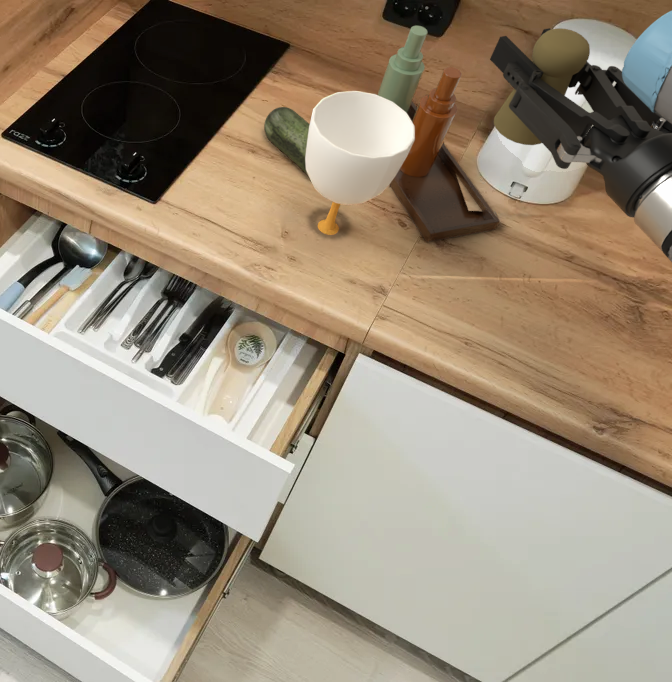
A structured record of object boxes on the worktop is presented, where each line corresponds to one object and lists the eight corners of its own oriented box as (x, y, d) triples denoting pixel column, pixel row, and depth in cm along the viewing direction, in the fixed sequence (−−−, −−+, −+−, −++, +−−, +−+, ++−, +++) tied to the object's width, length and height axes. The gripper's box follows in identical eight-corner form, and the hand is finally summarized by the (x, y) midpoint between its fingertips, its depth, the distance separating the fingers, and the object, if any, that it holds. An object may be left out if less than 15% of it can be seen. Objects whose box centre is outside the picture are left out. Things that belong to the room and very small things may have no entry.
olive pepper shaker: (559, 129, 88) (611, 39, 79) (531, 153, 85) (582, 63, 77) (511, 102, 90) (556, 12, 82) (483, 124, 88) (526, 34, 79)
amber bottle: (426, 154, 113) (466, 61, 101) (434, 177, 110) (476, 85, 98) (393, 153, 112) (429, 59, 100) (399, 176, 109) (438, 83, 97)
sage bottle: (397, 113, 118) (433, 20, 105) (404, 135, 115) (441, 42, 103) (365, 112, 117) (397, 18, 105) (371, 134, 114) (404, 40, 102)
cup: (342, 189, 108) (379, 82, 94) (390, 250, 102) (437, 145, 88) (266, 210, 105) (292, 101, 91) (310, 274, 99) (346, 168, 85)
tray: (493, 232, 105) (500, 221, 103) (424, 245, 103) (430, 233, 101) (400, 102, 120) (405, 91, 118) (339, 111, 118) (342, 99, 116)
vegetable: (346, 179, 109) (355, 150, 105) (318, 193, 107) (326, 164, 103) (279, 121, 116) (286, 92, 111) (252, 134, 113) (258, 104, 109)
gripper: (569, 240, 74) (435, 87, 86) (718, 202, 78) (570, 61, 91) (611, 178, 68) (461, 23, 80) (770, 141, 72) (604, -1, 85)
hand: (519, 44), depth 85 cm, fingers closed on olive pepper shaker, 5 cm apart
